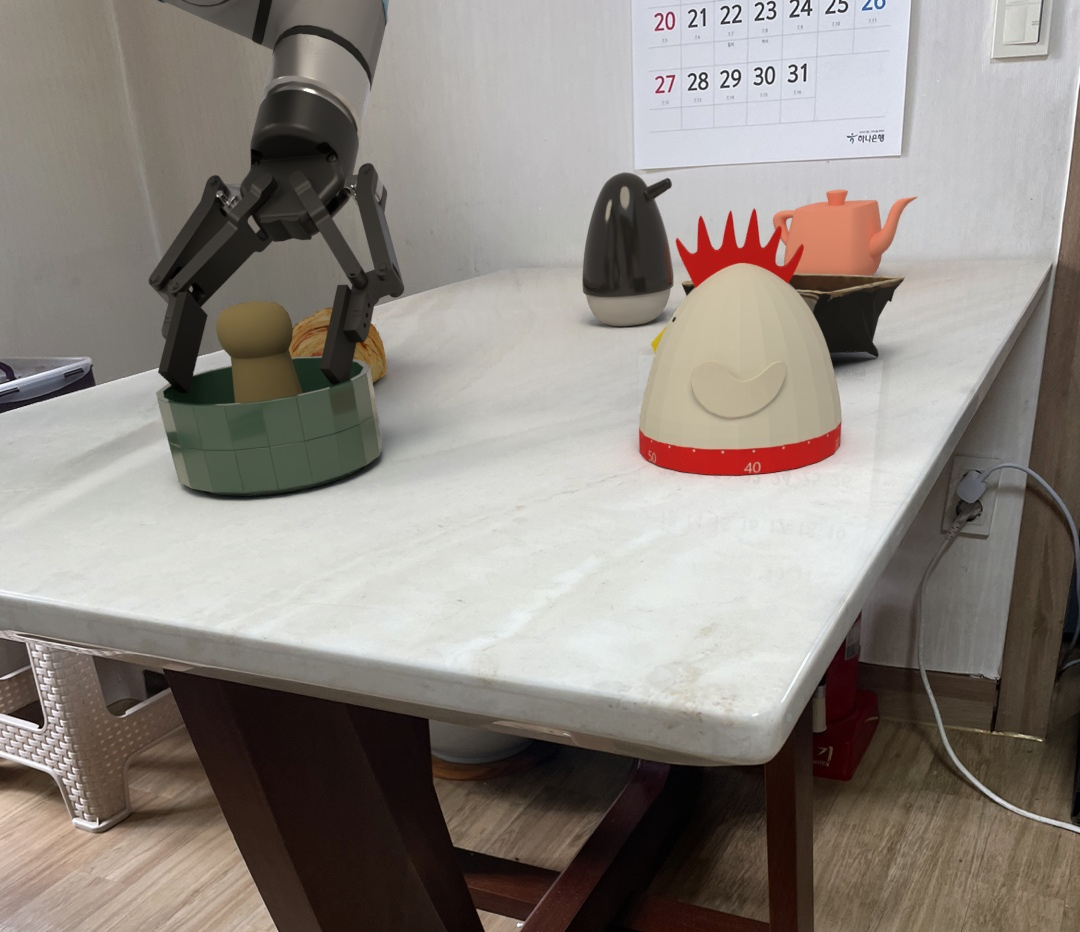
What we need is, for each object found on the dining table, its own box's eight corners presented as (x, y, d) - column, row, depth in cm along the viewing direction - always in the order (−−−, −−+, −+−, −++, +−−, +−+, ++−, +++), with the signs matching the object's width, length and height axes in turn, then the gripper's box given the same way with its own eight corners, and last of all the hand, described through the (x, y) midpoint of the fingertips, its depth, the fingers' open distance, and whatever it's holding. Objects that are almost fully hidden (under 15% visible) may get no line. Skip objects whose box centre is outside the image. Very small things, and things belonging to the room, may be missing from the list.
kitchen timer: (647, 422, 81) (642, 208, 73) (831, 415, 78) (844, 193, 71) (632, 477, 69) (623, 229, 61) (847, 471, 66) (866, 212, 59)
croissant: (372, 439, 96) (401, 355, 93) (264, 398, 93) (291, 310, 90) (370, 385, 114) (395, 313, 111) (280, 349, 111) (302, 275, 108)
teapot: (788, 274, 140) (791, 188, 135) (924, 275, 131) (933, 182, 125) (752, 288, 132) (754, 197, 127) (894, 290, 123) (903, 192, 118)
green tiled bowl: (138, 499, 74) (112, 407, 70) (245, 440, 86) (227, 358, 83) (328, 502, 70) (310, 404, 66) (413, 439, 82) (401, 354, 79)
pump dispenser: (657, 331, 113) (654, 173, 105) (570, 330, 117) (561, 179, 109) (688, 313, 120) (687, 165, 113) (605, 314, 125) (598, 171, 117)
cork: (223, 467, 77) (186, 310, 71) (282, 445, 81) (252, 295, 76) (280, 475, 74) (246, 312, 68) (339, 452, 78) (311, 296, 73)
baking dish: (776, 360, 105) (762, 254, 100) (930, 350, 91) (921, 227, 86) (671, 400, 98) (652, 289, 94) (819, 397, 84) (804, 266, 80)
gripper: (478, 150, 78) (430, 408, 73) (198, 173, 85) (137, 411, 80) (444, 66, 71) (388, 345, 66) (142, 99, 78) (71, 354, 73)
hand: (251, 381), depth 73 cm, fingers open, 12 cm apart
